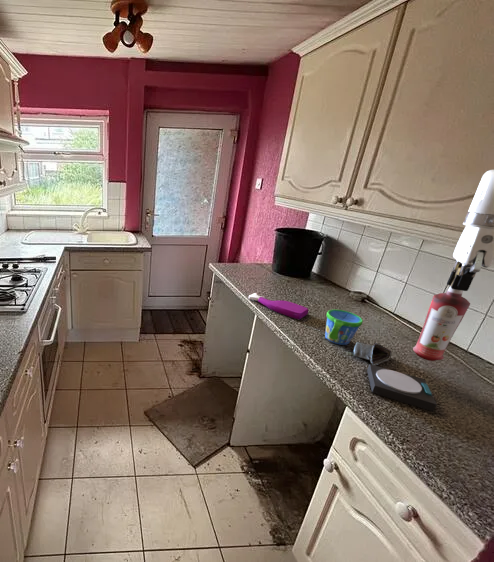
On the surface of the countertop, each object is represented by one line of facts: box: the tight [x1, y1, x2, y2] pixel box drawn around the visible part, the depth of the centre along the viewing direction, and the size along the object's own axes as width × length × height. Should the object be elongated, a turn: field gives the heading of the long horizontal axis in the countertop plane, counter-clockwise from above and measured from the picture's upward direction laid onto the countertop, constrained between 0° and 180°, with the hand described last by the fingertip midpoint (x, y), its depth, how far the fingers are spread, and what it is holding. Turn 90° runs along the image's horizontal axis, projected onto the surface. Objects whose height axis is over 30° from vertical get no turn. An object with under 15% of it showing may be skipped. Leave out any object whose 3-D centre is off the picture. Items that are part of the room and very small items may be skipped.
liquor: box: [412, 267, 471, 362], centre depth 88 cm, size 7×7×28 cm
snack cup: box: [324, 308, 364, 346], centre depth 112 cm, size 16×11×10 cm
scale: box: [366, 363, 437, 413], centre depth 89 cm, size 13×12×3 cm
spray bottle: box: [248, 292, 309, 320], centre depth 139 cm, size 3×11×24 cm
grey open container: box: [353, 341, 393, 366], centre depth 104 cm, size 10×7×12 cm
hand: (456, 287), depth 85 cm, fingers closed on liquor, 2 cm apart
